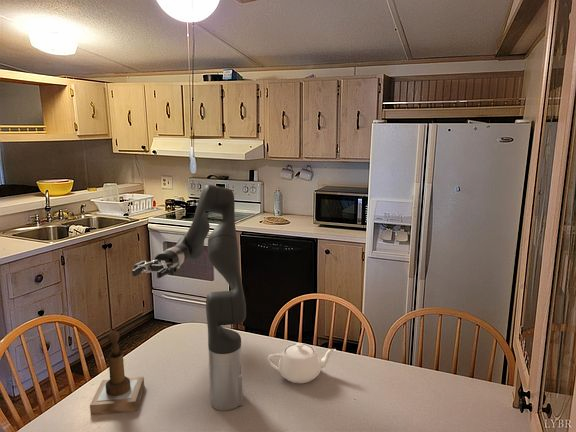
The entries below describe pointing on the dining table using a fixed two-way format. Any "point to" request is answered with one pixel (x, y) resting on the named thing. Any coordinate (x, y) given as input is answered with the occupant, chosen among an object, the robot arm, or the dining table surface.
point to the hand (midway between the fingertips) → (145, 274)
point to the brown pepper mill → (116, 369)
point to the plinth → (117, 398)
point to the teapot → (299, 362)
